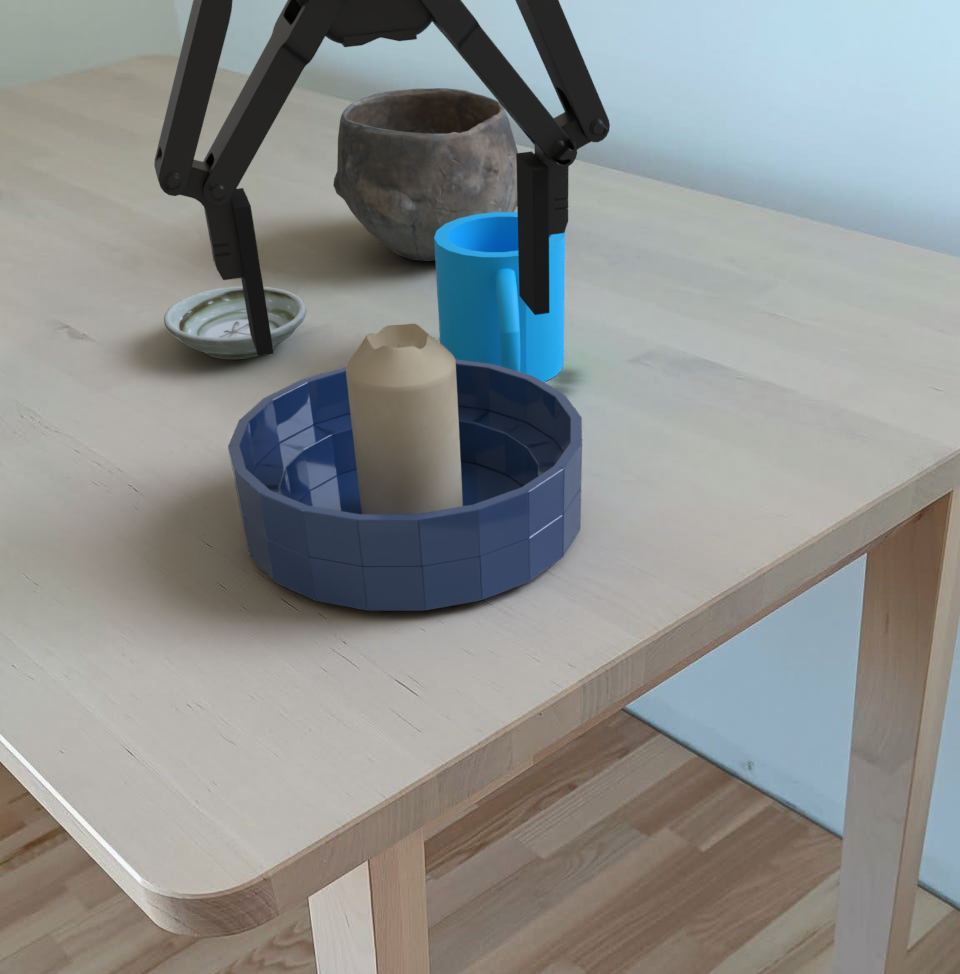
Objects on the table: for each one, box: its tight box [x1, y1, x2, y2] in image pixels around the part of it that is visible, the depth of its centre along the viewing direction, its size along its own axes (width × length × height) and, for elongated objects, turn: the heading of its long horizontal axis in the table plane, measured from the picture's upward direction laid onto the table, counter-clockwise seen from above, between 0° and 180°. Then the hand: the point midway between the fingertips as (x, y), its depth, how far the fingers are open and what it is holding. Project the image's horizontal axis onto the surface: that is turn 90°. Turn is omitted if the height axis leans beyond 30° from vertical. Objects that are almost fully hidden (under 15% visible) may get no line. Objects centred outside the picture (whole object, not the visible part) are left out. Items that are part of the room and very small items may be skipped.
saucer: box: [163, 285, 307, 361], centre depth 87 cm, size 10×10×2 cm
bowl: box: [332, 87, 519, 262], centre depth 97 cm, size 14×15×10 cm
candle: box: [345, 323, 463, 514], centre depth 66 cm, size 6×6×10 cm
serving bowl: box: [227, 359, 583, 612], centre depth 68 cm, size 18×18×6 cm
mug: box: [434, 211, 566, 383], centre depth 80 cm, size 12×8×8 cm
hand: (400, 325), depth 62 cm, fingers open, 13 cm apart
